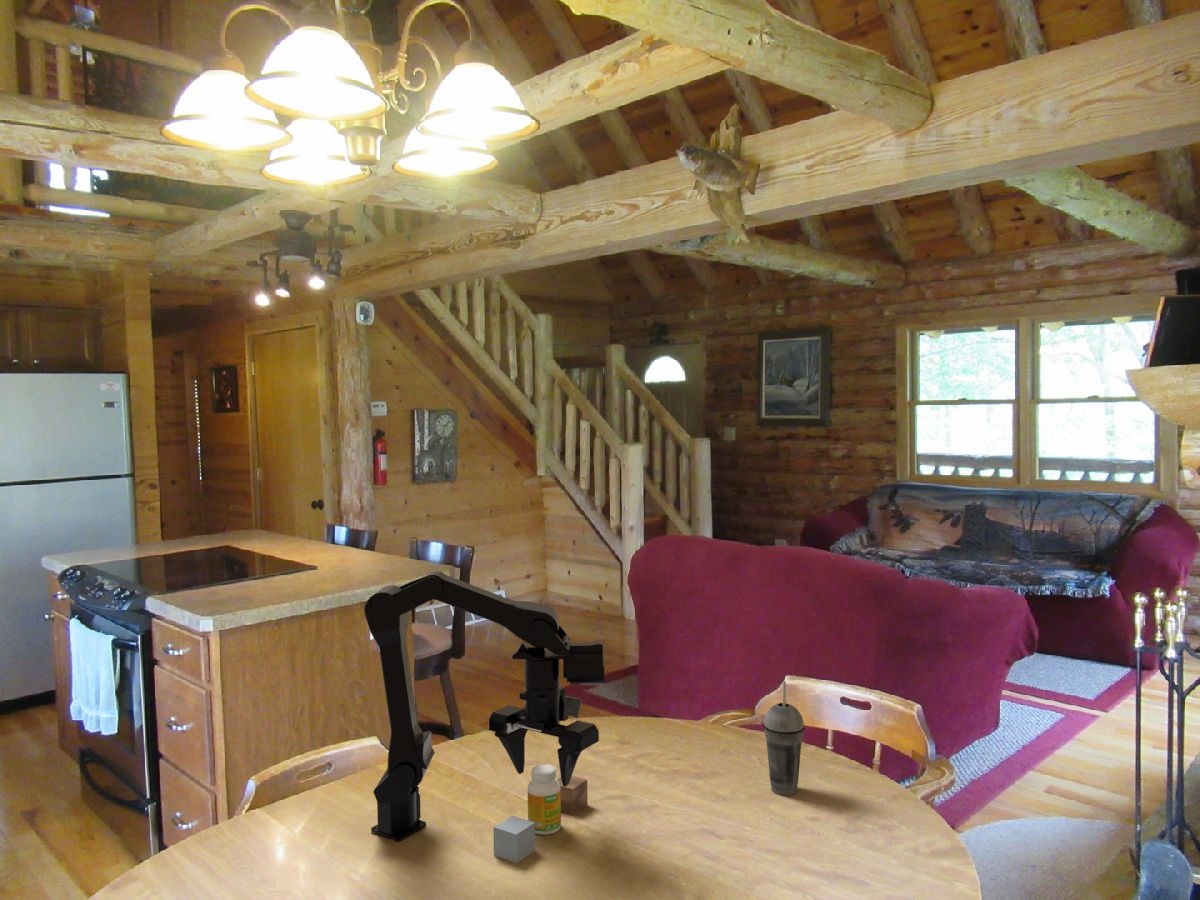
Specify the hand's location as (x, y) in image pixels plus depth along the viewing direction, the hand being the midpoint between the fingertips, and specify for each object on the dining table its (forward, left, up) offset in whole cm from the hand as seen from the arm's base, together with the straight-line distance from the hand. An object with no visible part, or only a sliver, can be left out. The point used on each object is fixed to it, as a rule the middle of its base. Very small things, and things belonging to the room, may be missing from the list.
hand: (543, 779), depth 140 cm
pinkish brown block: (+9, +1, -8) cm, 12 cm away
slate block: (-9, -1, -8) cm, 12 cm away
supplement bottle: (0, 0, -8) cm, 8 cm away
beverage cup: (+34, -28, -8) cm, 45 cm away
